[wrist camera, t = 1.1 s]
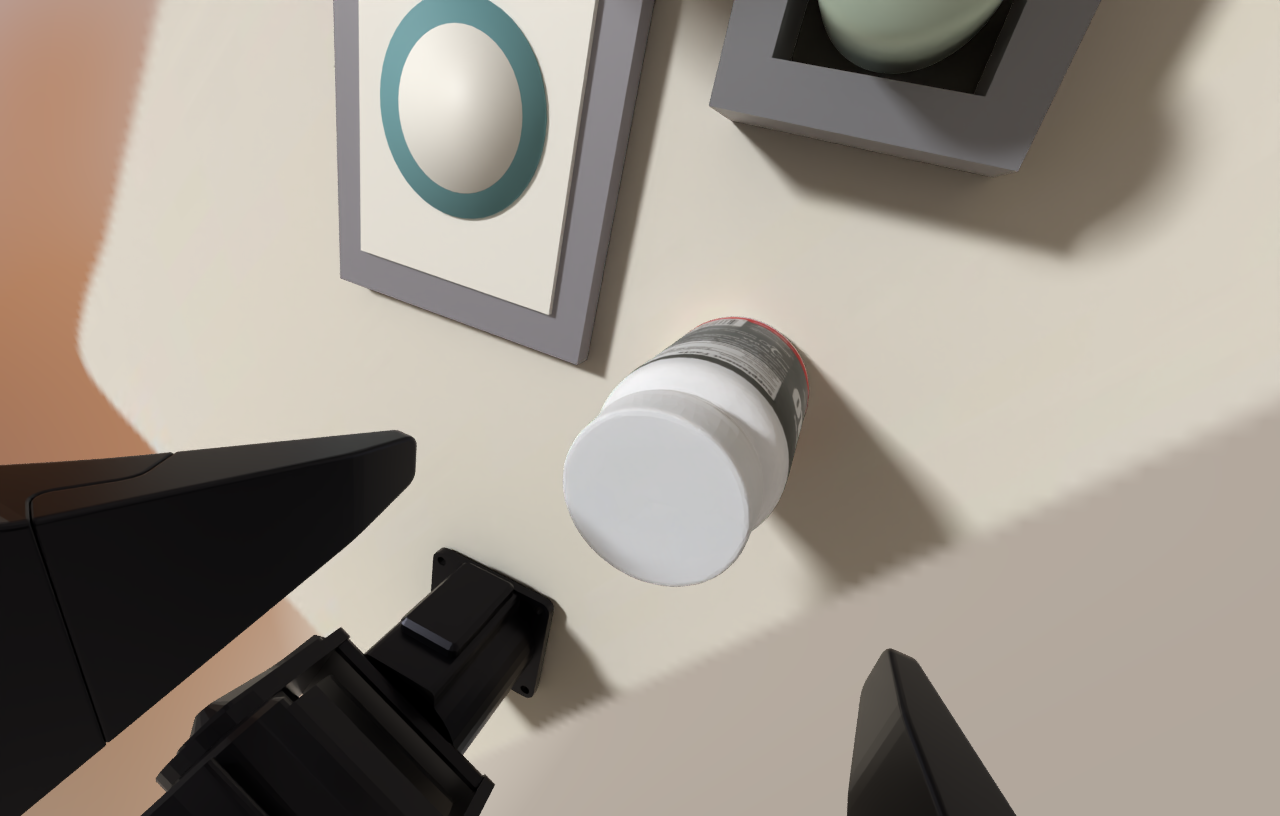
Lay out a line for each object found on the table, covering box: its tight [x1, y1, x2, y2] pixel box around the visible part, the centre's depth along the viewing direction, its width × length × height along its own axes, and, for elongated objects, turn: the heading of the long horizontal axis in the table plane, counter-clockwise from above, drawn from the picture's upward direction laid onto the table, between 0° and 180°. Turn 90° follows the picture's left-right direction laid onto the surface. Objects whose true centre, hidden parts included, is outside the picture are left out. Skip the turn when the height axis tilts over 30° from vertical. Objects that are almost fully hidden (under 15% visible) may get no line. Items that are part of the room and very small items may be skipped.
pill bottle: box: [563, 317, 809, 587], centre depth 14 cm, size 5×5×8 cm
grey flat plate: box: [333, 0, 655, 365], centre depth 17 cm, size 14×11×1 cm
